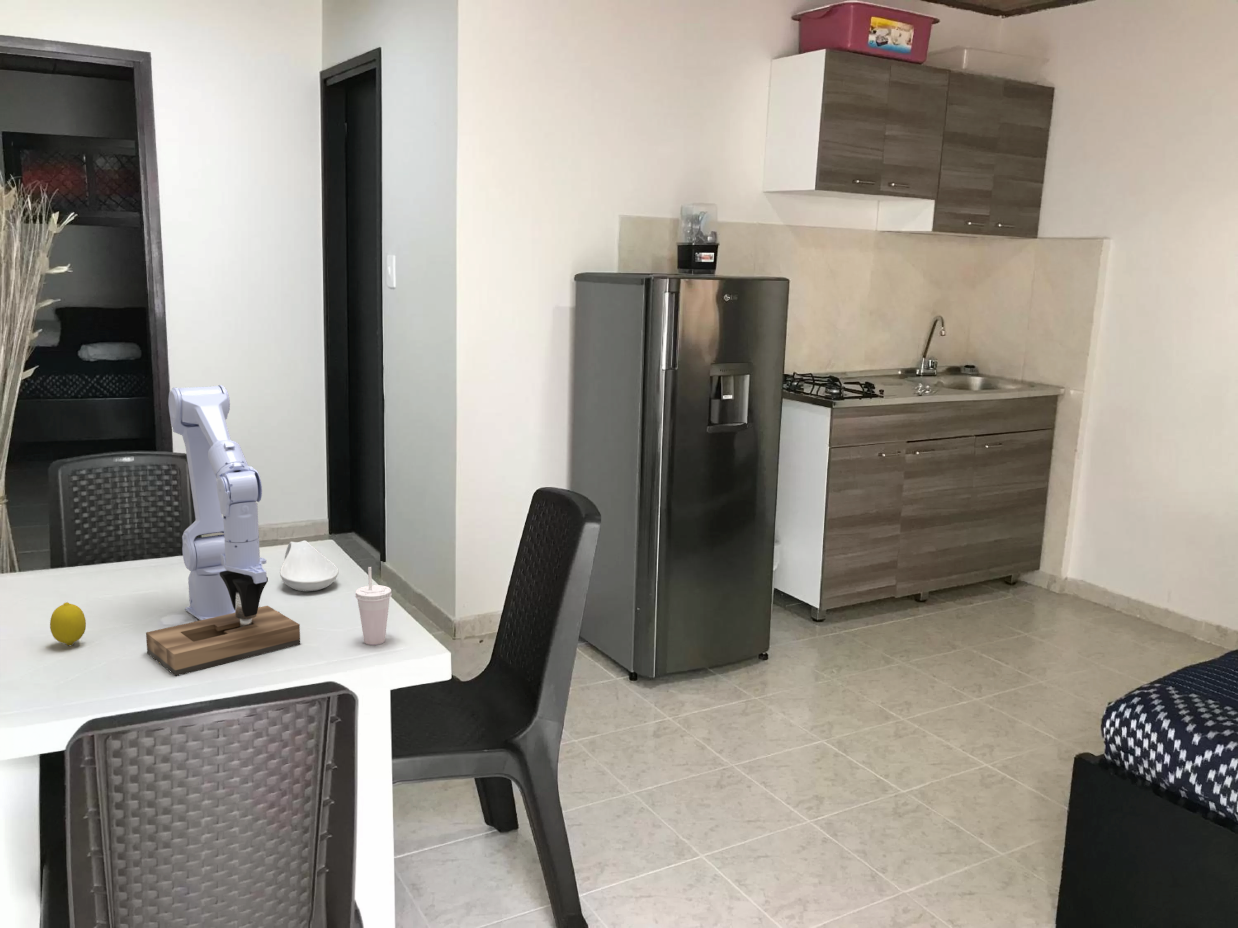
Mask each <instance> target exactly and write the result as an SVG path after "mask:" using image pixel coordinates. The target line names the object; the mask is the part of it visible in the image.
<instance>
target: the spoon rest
mask: <svg viewBox="0 0 1238 928" xmlns="http://www.w3.org/2000/svg"><path fill="white" fill-rule="evenodd" d="M279 574H280V578H281V580H282V581H283V583H285V585H286V586H288V587H289V588H290V589H293V590H296V591H298V592H315V591H320V590H322V589H325V588H327V587H329V586H331V585H332V584H333V582H335V580H336V579H337V577H338V575H339V568H338V566H336V565H335V563H334V562H333V561H331V560H330V559H328V557H326V556H325V555H323V553H321V552H320V551H318V550H317V549H316V548H315V547H314V546H313V545H312V544H311V543H309V542H308V541H307V540H301V541H290V542H289V543H288V545H287V547H286V551H285V554H284V561H283V563H282V565H281V568H280V571H279Z"/></svg>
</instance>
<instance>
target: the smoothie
mask: <svg viewBox="0 0 1238 928" xmlns="http://www.w3.org/2000/svg"><path fill="white" fill-rule="evenodd" d="M367 572H368V573H367V574H368V575H367V577H368V578H367V579H368V585H366V586H365V585H364V586H362V587H358V588H357V589H356V590H355V596H354V597H355V598H356V599H357V604H358V605H357V606H358V610H359V616H360V617H359V618H360V624H361V629H362V637H363V642H364V644H366V645H369V646H375V645H377V646H378V645H382V644H383V643H385V642H386V634H387V627H388V626H387V625H388V619H389V618H388V615H389V607H390V598H391V597H392V589H391V588H390V587H389V586H385V585H380V584H374V585H373V584H372V582H373V580H372V575H373V574H372V566H368V567H367Z"/></svg>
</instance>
